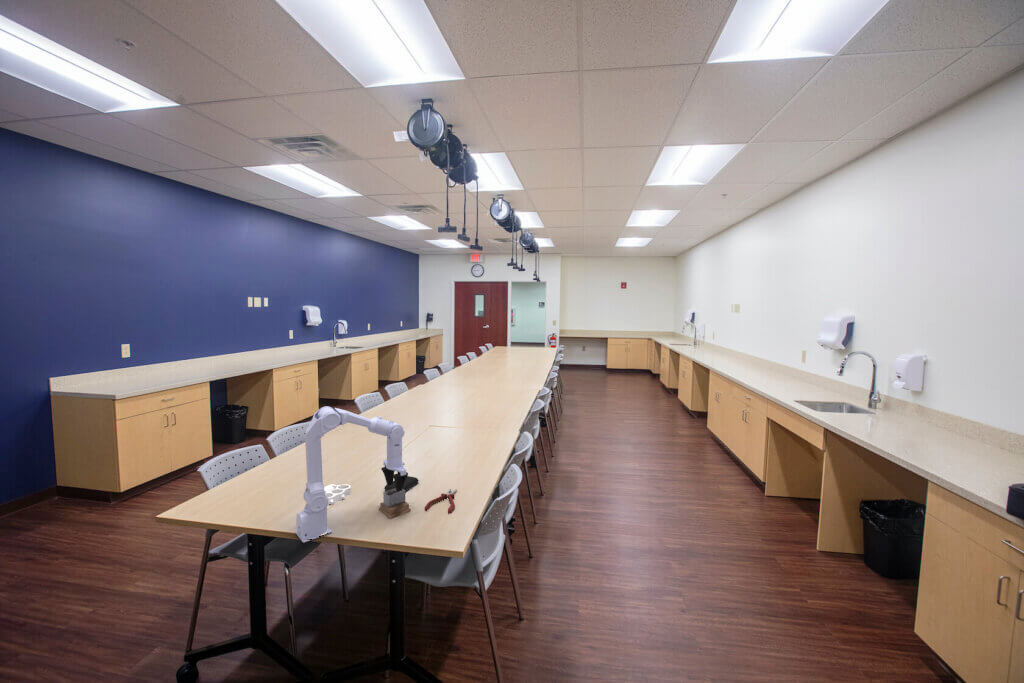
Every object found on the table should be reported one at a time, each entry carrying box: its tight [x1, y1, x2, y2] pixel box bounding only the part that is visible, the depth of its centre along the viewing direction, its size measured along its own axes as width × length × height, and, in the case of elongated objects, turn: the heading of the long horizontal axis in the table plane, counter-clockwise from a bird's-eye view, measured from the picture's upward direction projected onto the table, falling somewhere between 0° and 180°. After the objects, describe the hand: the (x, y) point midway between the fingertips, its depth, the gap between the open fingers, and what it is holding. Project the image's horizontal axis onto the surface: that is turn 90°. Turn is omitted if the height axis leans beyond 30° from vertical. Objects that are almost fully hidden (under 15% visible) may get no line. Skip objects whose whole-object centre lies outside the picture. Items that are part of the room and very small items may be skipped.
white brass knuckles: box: [324, 483, 352, 506], centre depth 170 cm, size 3×18×15 cm
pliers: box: [424, 488, 458, 515], centre depth 170 cm, size 12×20×3 cm, turn 169°
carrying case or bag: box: [383, 475, 419, 493], centre depth 183 cm, size 11×3×15 cm
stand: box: [378, 501, 412, 520], centre depth 161 cm, size 9×9×3 cm
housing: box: [382, 488, 406, 508], centre depth 160 cm, size 4×7×5 cm, turn 134°
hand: (394, 487), depth 160 cm, fingers open, 7 cm apart
